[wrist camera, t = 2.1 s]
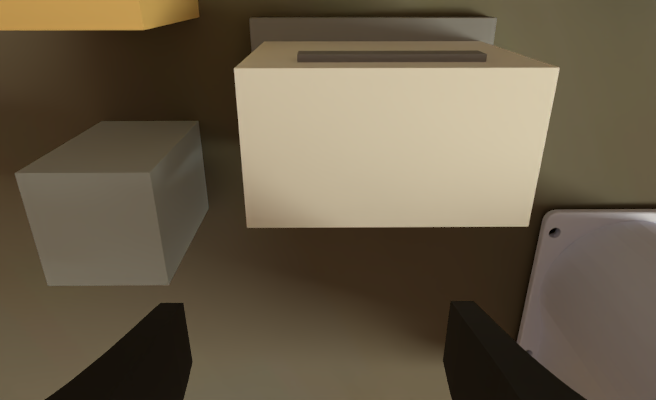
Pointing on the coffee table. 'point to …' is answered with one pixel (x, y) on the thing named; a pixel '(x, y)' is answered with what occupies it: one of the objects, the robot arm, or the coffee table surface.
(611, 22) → the coffee table surface
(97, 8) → the ochre block
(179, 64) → the coffee table surface
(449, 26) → the cream unit
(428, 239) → the coffee table surface
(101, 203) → the slate block
